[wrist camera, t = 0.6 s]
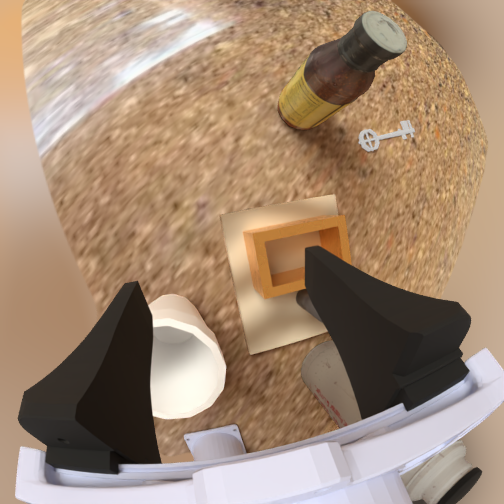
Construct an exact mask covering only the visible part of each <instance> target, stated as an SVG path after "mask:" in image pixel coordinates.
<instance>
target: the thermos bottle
mask: <svg viewBox="0 0 504 504" xmlns="http://www.w3.org/2000/svg"><path fill="white" fill-rule="evenodd" d="M301 375H302V379H303V381H304V383H305V384H306V385H307V387H308V388H309V389H310V391H311V392H312V393H313V394H314V396H315V397H316V398H317V400H318V401H319V402H320V404H321V405H322V406H323V407H324V409H325V410H326V411H327V413H328V414H329V415H330V417H331V418H332V419H333V420H334V422H335V423H336V424H337V425H338V427H339V428H343V427H346V426H348V425H351V424H354V423H356V422H359V421H361V420H362V418H361V415H360V411H359V408H358V404H357V401H356V398H355V395H354V392H353V389H352V386H351V383H350V380H349V378H348V375H347V372H346V370H345V367H344V364H343V362H342V359H341V357H340V355H339V352H338V350H337V348H336V346H335V344H334V342H333V341H327V342H324V343H321V344H319V345H318V346H316V347H315V348H313V349H312V350H311V351H310V352H309V353H308V355H307V356H306V358H305V359H304V361H303V364H302V368H301ZM465 453H466V447H465V446H464V445H463V441H461V440H457V441H456V442H454V443H453V444H451V445H450V446H448V447H447V448H445V449H444V450H442V451H441V452H439V453H438V454H436V455H435V456H433V457H432V458H430V459H428V460H427V461H425V462H423V463H422V464H420V465H418V466H417V467H415V468H413V469H411V470H410V471H408V472H406V473H404V474H402V475H400V477H401V479H402V481H403V483H404V486H405V488H406V490H407V492H408V495H409V497H410V499H411V501H415V500H420V499H423V500H424V501H425V502H426V503H427V504H456V503H457V502H458V501H459V500H461V499H462V498H463V497H464V496H465V495H466V494H467V493H468V492H469V491H470V489H471V488H472V487H473V486H474V485H475V483H476V482H477V481H478V479H479V478H480V476H481V474H482V471H481V470H480V469H479V468H478V467H476V468H473V467H472V464H471V463H469V462H468V461H467V460H466V459H465V458H464V457H465Z"/></svg>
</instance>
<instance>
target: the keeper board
mask: <svg viewBox="0 0 504 504" xmlns="http://www.w3.org/2000/svg"><path fill="white" fill-rule="evenodd" d="M322 215H338V209H337V203H336V197H335V194H333V195H327V196H320V197H314V198H308V199H302V200H297V201H291V202H285V203H280V204H274V205H268V206H263V207H258V208H252V209H247V210H242V211H237V212H232V213H227V214H222V215H219V216H220V221H221V226H222V231H223V236H224V241H225V246H226V251H227V256H228V261H229V266H230V270H231V275H232V280H233V285H234V289H235V294H236V299H237V303H238V308H239V313H240V317H241V322H242V326H243V331H244V335H245V340H246V344H247V349H248V351H249V353H250V355H252V354H256V353H259V352H263V351H267V350H270V349H274V348H277V347H281V346H284V345H287V344H291V343H294V342H297V341H300V340H304V339H307V338H310V337H313V336H316V335H319V334H322V333H325V332H328V331H327V329H326V327H325V326H324V324H323V322H322V320H321V319H320V317H319V315H318V313H317V311H316V310H315V308H314V306H313V304H312V302H311V300H310V297H309V295H308V292H307V290H306V289H302V290H298V291H295V292H291V293H287V294H283V295H280V296H276V297H272V298H268V299H264V298H263V297H262V296H261V295H260V294H259V293H258V292H257V291H256V290H255V289H254V288H253V283H252V278H251V272H250V267H249V262H248V257H247V252H246V247H245V242H244V236H243V231H247V230H252V229H256V228H261V227H266V226H271V225H276V224H281V223H286V222H291V221H296V220H301V219H306V218H312V217H317V216H322ZM316 245H319V246H320V247H321V241H320V235H319V230H318V231H313V232H308V233H304V234H299V235H294V236H290V237H285V238H280V239H276V240H271V241H266V242H265V248H266V253H267V259H268V264H269V269H270V275H272V274H276V273H280V272H284V271H288V270H292V269H296V268H300V267H304V266H305V248H306V247H311V246H316Z"/></svg>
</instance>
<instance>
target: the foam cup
mask: <svg viewBox="0 0 504 504" xmlns="http://www.w3.org/2000/svg"><path fill="white" fill-rule="evenodd" d="M148 306H149V309H150V311H151V313H152V316H153V348H152V361H151V377H150V390H151V403H152V412H153V416H156V417H159V418H163V419H176V418H186V417H192V416H194V415H196V414H197V413H199V412H201V411H203V410H205V409H207V408H209V407H211V406H212V404H213V403H214V401H215V400H216V399H217V397H218V396H219V395H220V393H221V392H222V391H223V389H224V383H225V374H226V364H225V360H224V357H223V353H222V351H221V349H220V346H219V344H218V341H217V339H216V337H215V334H214V332H212V331H211V330H210V329H209V328H208V327H207V325H206V324H205V322H204V320H203V319H202V317H201V315H200V314H199V312H198V310H197V309H196V307H195V306H194V305H193V304H192V303H191V302H190V301H189V300H188V299H187V298H185V297H182V296H179V295H176V294H170V295H162V296H161V297H159V298H158V299H156V300H155V301H153V302H152V303H151V304H150V305H148Z"/></svg>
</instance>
